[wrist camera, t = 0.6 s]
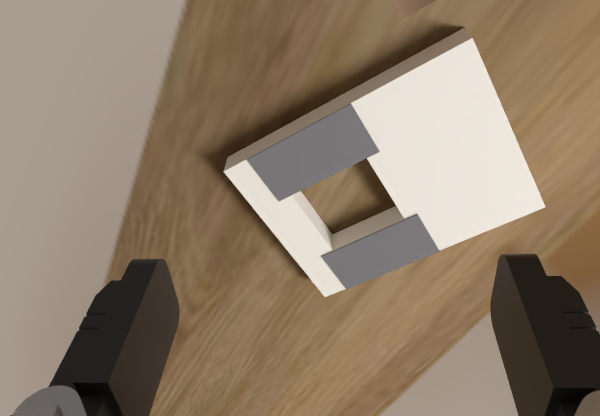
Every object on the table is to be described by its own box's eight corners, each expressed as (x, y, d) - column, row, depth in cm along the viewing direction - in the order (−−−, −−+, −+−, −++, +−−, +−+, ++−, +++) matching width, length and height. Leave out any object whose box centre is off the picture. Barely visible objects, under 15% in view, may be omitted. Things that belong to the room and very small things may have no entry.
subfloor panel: (464, 27, 33) (472, 38, 31) (536, 191, 39) (546, 208, 38) (227, 157, 38) (223, 172, 37) (324, 280, 45) (325, 298, 44)
